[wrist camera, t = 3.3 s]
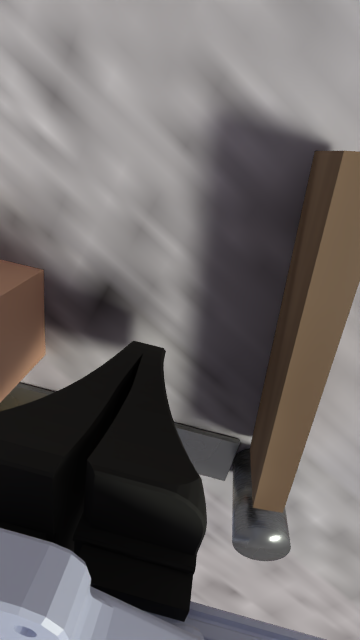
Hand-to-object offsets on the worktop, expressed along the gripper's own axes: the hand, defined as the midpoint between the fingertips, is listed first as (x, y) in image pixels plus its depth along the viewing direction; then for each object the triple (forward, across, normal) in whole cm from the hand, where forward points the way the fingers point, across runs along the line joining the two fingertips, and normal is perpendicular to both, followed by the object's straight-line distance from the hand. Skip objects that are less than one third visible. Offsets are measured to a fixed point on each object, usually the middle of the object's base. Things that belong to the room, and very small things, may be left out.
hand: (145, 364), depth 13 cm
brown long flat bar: (+1, -5, -2) cm, 6 cm away
